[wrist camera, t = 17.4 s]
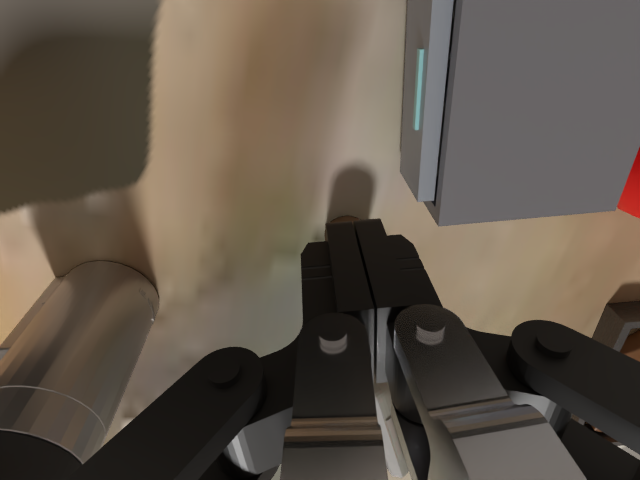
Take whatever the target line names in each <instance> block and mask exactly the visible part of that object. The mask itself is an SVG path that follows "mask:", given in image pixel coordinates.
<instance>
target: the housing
mask: <svg viewBox="0 0 640 480" xmlns="http://www.w3.org/2000/svg"><path fill="white" fill-rule="evenodd" d="M639 147H640V0H456V9H455V19H454V29H453V38H452V48H451V58H450V68H449V78H448V88H447V98H446V107H445V117H444V127H443V137H442V147H441V157H440V167H439V176H436V185H435V195H434V201H423V202H424V204H425V205H426V207H427V209H428V210H429V212H430V214H431V215H432V217H433V219H434V220H435V222H436V223H437V225H438V226H448V225H459V224H471V223H482V222H493V221H504V220H516V219H527V218H538V217H549V216H561V215H572V214H583V213H594V212H605V211H615V210H616V207H617V205H618V202H619V200H620V197H621V194H622V192H623V189H624V186H625V184H626V181H627V179H628V176H629V173H630V171H631V168H632V165H633V163H634V160H635V157H636V155H637V152H638V150H639Z"/></svg>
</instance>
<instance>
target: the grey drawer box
mask: <svg viewBox="0 0 640 480" xmlns="http://www.w3.org/2000/svg"><path fill="white" fill-rule="evenodd" d="M455 9H456V0H408V4H407V26H406V49H405V71H404V94H403V116H402V139H401V161H400V172H401V174H402V176H403V178H404V179H405V181H406V183H407V185H408V186H409V188H410V190H411V191H412V193H413V195H414V197H415V198H416V200H417V202H422V201H434V195H435V185H436V176H439V167H440V157H441V147H442V137H443V127H444V117H445V108H444V107H443V103H444V93H445V83H446V73H447V62H448V52H449V48H450V47H451V45H452V38H453V29H454V19H455Z"/></svg>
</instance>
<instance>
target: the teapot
mask: <svg viewBox="0 0 640 480" xmlns="http://www.w3.org/2000/svg"><path fill="white" fill-rule="evenodd" d="M617 207H618V209H620V210H622V211H625V212H627V213H629V214H631V215H633V216H635V217H638V218H640V147H639V150H638V152H637V155H636V157H635V160H634V163H633V165H632V168H631V171H630V173H629V176H628V179H627V181H626V184H625V186H624V189H623V192H622V194H621V197H620V200H619V202H618V205H617Z"/></svg>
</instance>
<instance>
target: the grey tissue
mask: <svg viewBox="0 0 640 480" xmlns="http://www.w3.org/2000/svg"><path fill="white" fill-rule="evenodd" d="M373 385H374V394H375V402H376V411H377V419H378V424H380V426H381V430H382V436H383V443H384V451H385V459H386V467H387V469H388V471H389V472H390V474H391V475H392V476H394V477H400V478H402V477H404V476H405V475H406V474H407V473H408V471H409V469H408V466H407V463H406V460H405V457H404V453H403V450H402V447H401V444H400V441H399V438H398V434H397V431H396V428H395V425H394V422H393V419H392V415H391V393H390V389H389V385H388V382H384V383H376V379H375V374H374V384H373Z"/></svg>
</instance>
